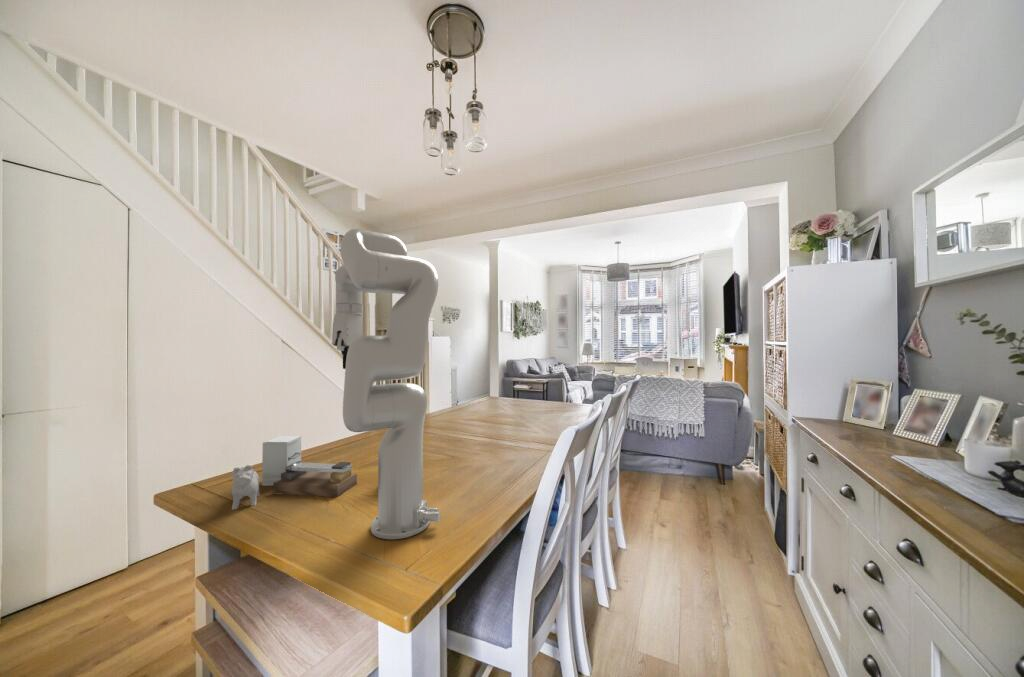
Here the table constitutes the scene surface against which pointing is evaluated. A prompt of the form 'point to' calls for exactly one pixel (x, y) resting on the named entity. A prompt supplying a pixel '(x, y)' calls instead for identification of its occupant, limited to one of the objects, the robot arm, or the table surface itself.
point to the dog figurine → (244, 485)
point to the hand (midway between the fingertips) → (349, 368)
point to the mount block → (315, 483)
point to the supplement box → (279, 457)
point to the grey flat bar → (319, 467)
